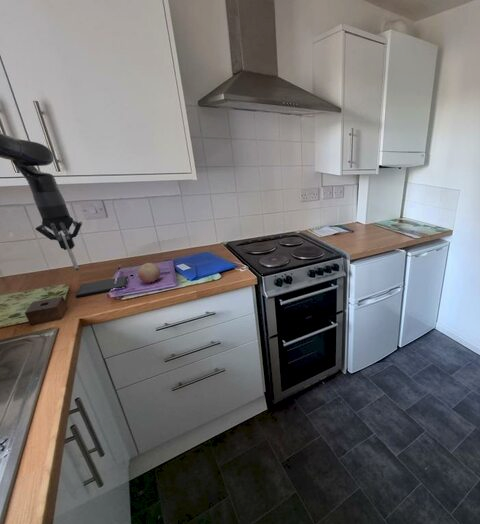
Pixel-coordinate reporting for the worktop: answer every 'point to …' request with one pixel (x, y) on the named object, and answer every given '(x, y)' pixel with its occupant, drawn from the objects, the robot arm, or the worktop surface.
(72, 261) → the stylus
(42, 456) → the worktop surface
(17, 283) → the worktop surface
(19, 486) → the worktop surface
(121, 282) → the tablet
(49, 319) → the pen holder
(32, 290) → the worktop surface
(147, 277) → the fruit
